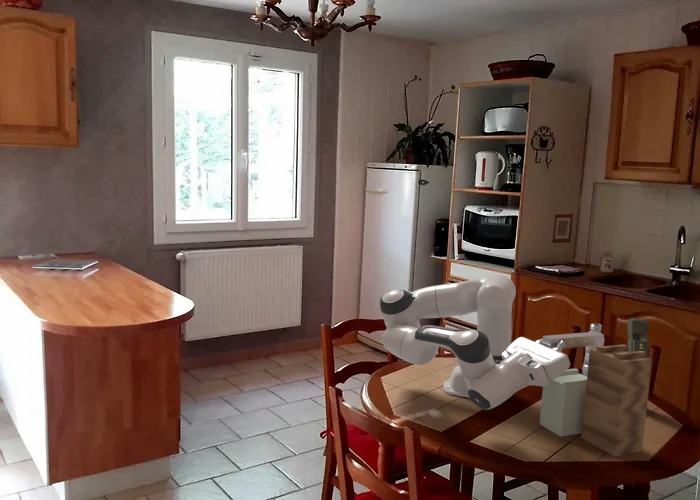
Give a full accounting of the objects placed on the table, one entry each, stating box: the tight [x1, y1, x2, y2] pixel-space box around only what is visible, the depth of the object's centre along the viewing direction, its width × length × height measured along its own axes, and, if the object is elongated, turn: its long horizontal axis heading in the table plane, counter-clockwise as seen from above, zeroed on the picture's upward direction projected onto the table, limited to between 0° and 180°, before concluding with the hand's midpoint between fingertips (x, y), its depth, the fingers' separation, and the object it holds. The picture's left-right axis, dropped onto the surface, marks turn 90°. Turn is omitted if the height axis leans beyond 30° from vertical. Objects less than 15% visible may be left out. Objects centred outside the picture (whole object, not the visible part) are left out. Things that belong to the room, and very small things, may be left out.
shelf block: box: [539, 368, 587, 437], centre depth 183 cm, size 12×9×16 cm
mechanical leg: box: [626, 317, 649, 358], centre depth 202 cm, size 14×7×30 cm, turn 169°
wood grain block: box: [580, 343, 653, 458], centre depth 172 cm, size 10×12×27 cm
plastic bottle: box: [581, 322, 605, 377], centre depth 230 cm, size 6×7×20 cm
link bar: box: [542, 331, 605, 350], centre depth 179 cm, size 19×4×3 cm, turn 112°
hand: (557, 340), depth 177 cm, fingers closed on link bar, 3 cm apart
